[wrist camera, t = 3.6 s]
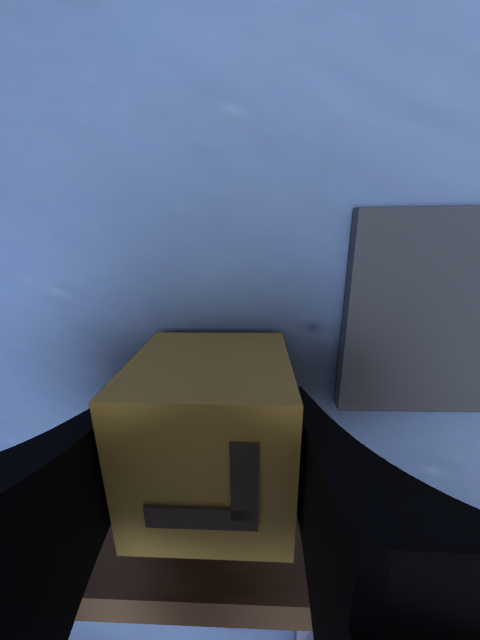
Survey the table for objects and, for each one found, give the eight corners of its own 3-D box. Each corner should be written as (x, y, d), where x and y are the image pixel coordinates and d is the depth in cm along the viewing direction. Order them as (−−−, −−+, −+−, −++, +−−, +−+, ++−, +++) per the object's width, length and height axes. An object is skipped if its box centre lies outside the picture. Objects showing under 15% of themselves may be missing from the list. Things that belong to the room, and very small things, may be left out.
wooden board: (350, 457, 14) (403, 581, 9) (342, 521, 15) (385, 660, 10) (100, 452, 14) (23, 567, 9) (112, 514, 15) (48, 644, 10)
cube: (278, 439, 13) (293, 566, 8) (166, 436, 13) (115, 559, 8) (281, 332, 11) (304, 408, 6) (156, 332, 12) (86, 405, 7)
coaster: (521, 404, 12) (535, 413, 12) (334, 402, 13) (338, 410, 12) (585, 205, 10) (606, 203, 9) (353, 208, 10) (359, 207, 10)
